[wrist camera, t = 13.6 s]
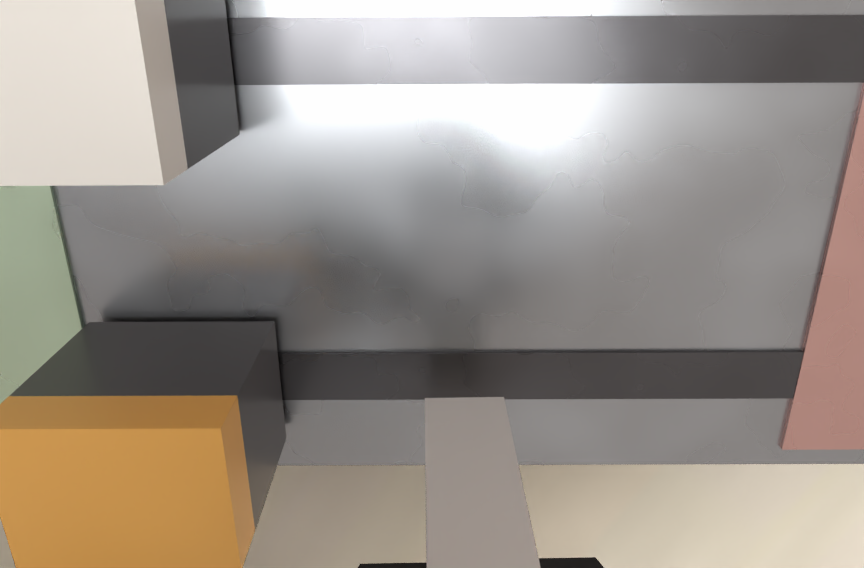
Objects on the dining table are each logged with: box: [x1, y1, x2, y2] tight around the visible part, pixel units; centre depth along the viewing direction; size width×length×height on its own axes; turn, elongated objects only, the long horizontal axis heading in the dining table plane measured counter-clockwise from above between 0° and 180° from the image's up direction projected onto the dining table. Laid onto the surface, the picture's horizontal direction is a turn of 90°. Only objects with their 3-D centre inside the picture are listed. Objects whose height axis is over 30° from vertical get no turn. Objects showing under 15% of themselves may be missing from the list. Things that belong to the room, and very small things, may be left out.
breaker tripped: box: [0, 321, 286, 568], centre depth 13 cm, size 4×3×4 cm
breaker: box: [0, 0, 240, 186], centre depth 11 cm, size 4×3×4 cm
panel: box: [0, 0, 864, 465], centre depth 13 cm, size 25×19×2 cm
